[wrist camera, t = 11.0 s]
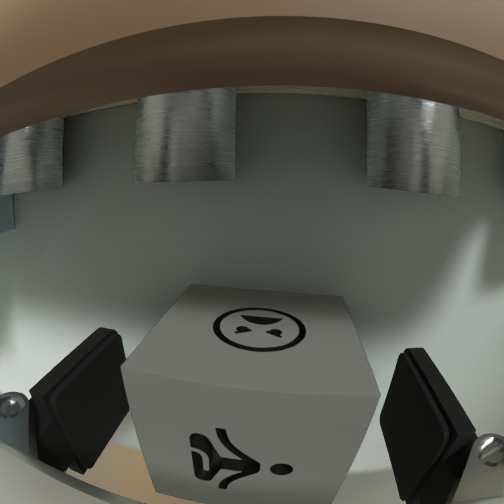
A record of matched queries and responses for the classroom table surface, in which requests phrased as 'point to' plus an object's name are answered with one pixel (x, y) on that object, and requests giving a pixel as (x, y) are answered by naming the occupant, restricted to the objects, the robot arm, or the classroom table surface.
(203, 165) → the roller bed
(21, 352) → the classroom table surface
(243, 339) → the dice cube
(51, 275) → the classroom table surface
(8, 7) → the slab
